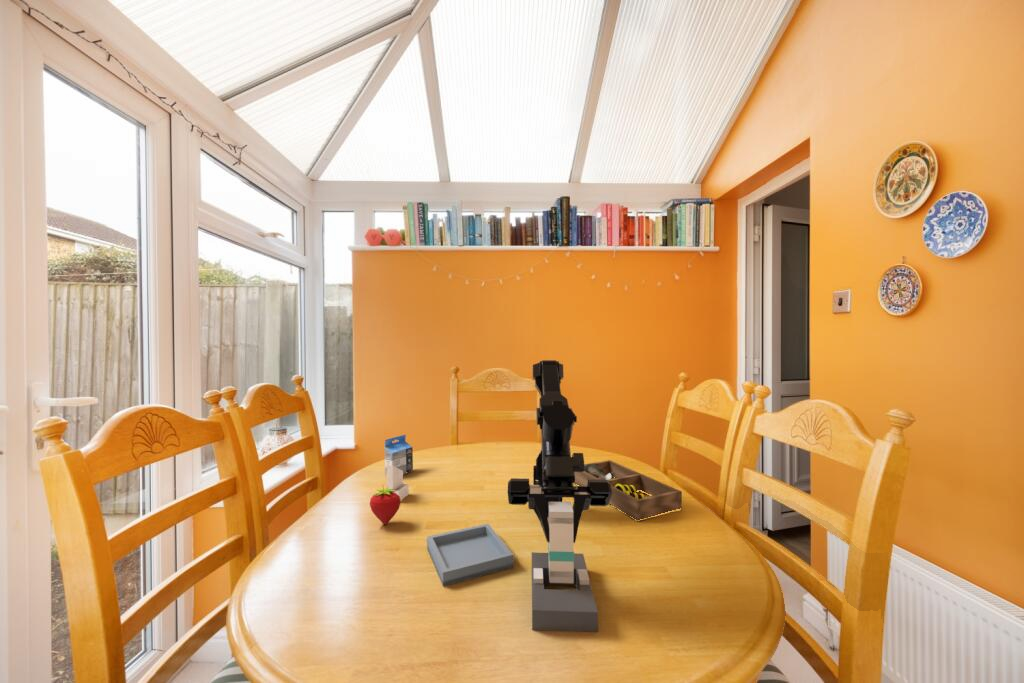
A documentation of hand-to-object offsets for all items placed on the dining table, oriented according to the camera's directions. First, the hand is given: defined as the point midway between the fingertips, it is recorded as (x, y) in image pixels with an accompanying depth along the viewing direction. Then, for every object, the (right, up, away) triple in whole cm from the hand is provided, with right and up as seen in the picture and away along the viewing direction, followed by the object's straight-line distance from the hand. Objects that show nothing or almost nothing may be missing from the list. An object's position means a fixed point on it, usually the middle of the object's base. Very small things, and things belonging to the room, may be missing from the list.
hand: (561, 541), depth 64 cm
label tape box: (-46, -11, +63) cm, 79 cm away
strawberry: (-39, -10, +28) cm, 49 cm away
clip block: (0, -10, +1) cm, 10 cm away
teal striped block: (0, -7, +1) cm, 7 cm away
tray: (-17, -10, +13) cm, 24 cm away
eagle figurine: (+18, -11, +51) cm, 55 cm away
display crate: (+23, -10, +45) cm, 52 cm away
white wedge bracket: (-41, -11, +43) cm, 60 cm away
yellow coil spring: (+23, -11, +38) cm, 46 cm away
